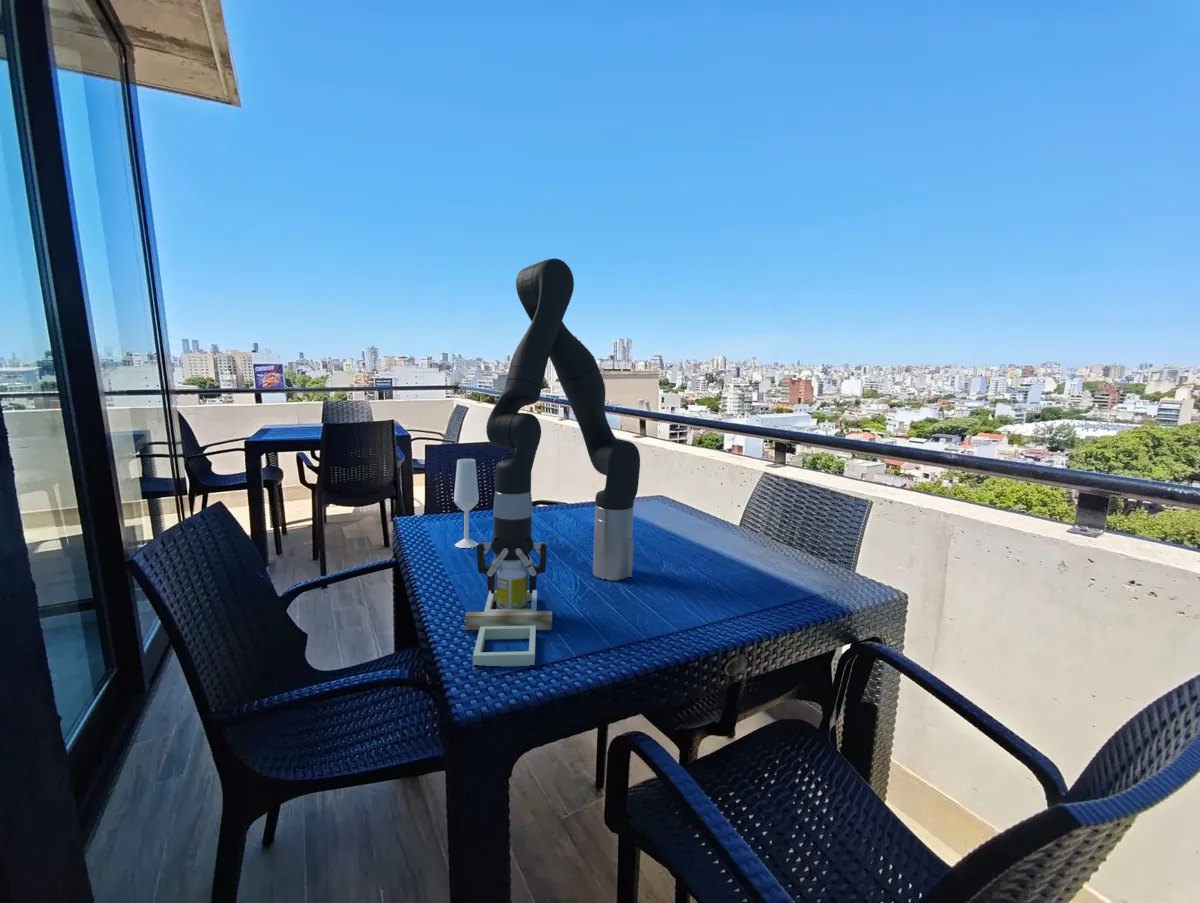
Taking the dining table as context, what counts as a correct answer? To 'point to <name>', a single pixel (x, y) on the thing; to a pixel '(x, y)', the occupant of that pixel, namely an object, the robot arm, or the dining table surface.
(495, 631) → the keeper
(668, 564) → the dining table surface
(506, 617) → the edge strip
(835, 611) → the dining table surface
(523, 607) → the pill bottle
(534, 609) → the keeper
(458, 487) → the champagne flute
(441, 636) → the dining table surface
